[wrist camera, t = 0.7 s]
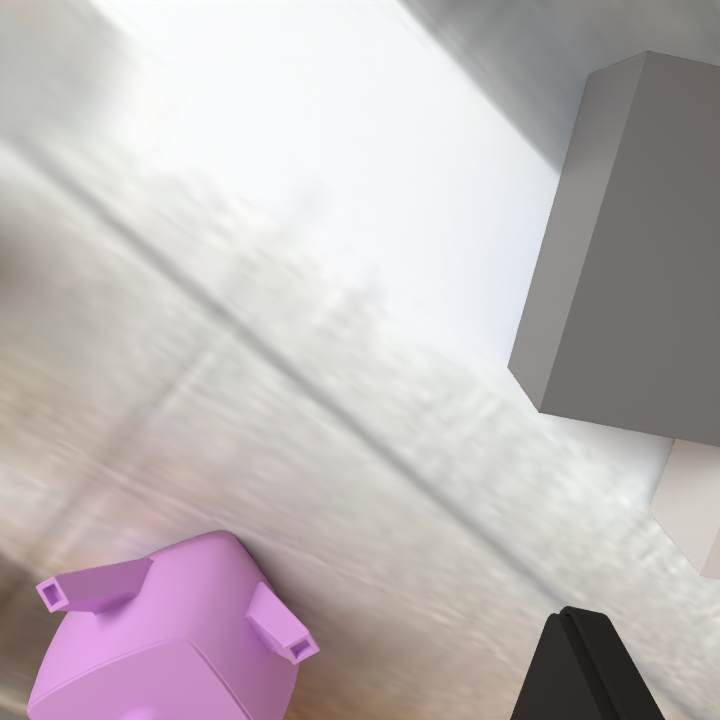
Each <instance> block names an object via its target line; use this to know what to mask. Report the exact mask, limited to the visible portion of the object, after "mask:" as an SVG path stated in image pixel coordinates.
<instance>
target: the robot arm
mask: <svg viewBox="0 0 720 720" xmlns="http://www.w3.org/2000/svg"><path fill="white" fill-rule="evenodd" d="M510 720H665V718H664V717H663V715H662V713H661V711H660V709H659V708H658V706H657V704H656V702H655V700H654V699H653V697H652V695H651V693H650V691H649V690H648V688H647V686H646V684H645V682H644V681H643V679H642V677H641V675H640V673H639V672H638V670H637V668H636V666H635V664H634V663H633V661H632V659H631V657H630V655H629V653H628V652H627V650H626V648H625V646H624V644H623V643H622V641H621V639H620V637H619V635H618V634H617V632H616V630H615V628H614V626H613V625H612V623H611V621H610V619H609V618H608V617H607V616H606V615H605V614H602V613H598V612H594V611H589V610H584V609H580V608H575V607H571V606H566V607H564V608H563V609H562V610H561V612H560V614H555V613H553V614H551V615H550V616H549V617H548V619H547V621H546V623H545V626H544V629H543V632H542V634H541V637H540V640H539V643H538V645H537V648H536V651H535V653H534V656H533V659H532V662H531V664H530V667H529V670H528V673H527V675H526V678H525V681H524V683H523V686H522V689H521V692H520V694H519V697H518V700H517V703H516V705H515V708H514V711H513V713H512V716H511V719H510Z"/></svg>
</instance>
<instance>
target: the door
mask: <svg viewBox="0 0 720 720" xmlns="http://www.w3.org/2000/svg"><path fill="white" fill-rule="evenodd" d="M648 512H649V513H650V515H651V516H652V517H653V518H654V520H655V521H656V522H657V523H658V525H659V526H660V527H661V528H662V530H663V531H664V532H665V533H666V534H667V536H668V537H669V538H670V539H671V541H672V542H673V543H674V544H675V546H676V547H677V548H678V549H679V551H680V552H681V553H682V554H683V556H684V557H685V558H686V559H687V561H688V562H689V563H690V564H691V565H692V567H693V568H694V569H695V570H696V572H697V573H698V574H699V575H700V576H705V577H710V578H716V579H719V578H720V447H717V446H712V445H707V444H701V443H696V442H691V441H686V440H680V439H675V441H674V444H673V447H672V449H671V452H670V455H669V457H668V460H667V463H666V466H665V468H664V471H663V474H662V476H661V479H660V482H659V484H658V487H657V490H656V492H655V495H654V498H653V500H652V503H651V506H650V508H649V511H648Z"/></svg>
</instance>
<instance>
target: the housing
mask: <svg viewBox="0 0 720 720" xmlns="http://www.w3.org/2000/svg"><path fill="white" fill-rule="evenodd" d="M508 368H509V370H510V371H511V373H512V374H513V376H514V377H515V379H516V380H517V382H518V383H519V384H520V386H521V387H522V389H523V390H524V392H525V393H526V395H527V396H528V398H529V399H530V400H531V402H532V403H533V405H534V406H535V408H536V409H537V411H538V412H539V413H544V414H549V415H554V416H560V417H565V418H570V419H575V420H581V421H586V422H591V423H596V424H602V425H607V426H612V427H617V428H623V429H628V430H633V431H638V432H644V433H649V434H654V435H659V436H665V437H670V438H675V439H680V440H686V441H691V442H696V443H701V444H707V445H712V446H717V447H720V66H715V65H711V64H706V63H702V62H697V61H692V60H688V59H683V58H679V57H674V56H670V55H665V54H661V53H656V52H651V51H646V52H643V53H641V54H638V55H636V56H633V57H631V58H628V59H626V60H623V61H621V62H618V63H616V64H613V65H611V66H608V67H606V68H603V69H601V70H599V71H596V72H594V73H591V74H589V77H588V80H587V84H586V88H585V91H584V95H583V98H582V102H581V105H580V109H579V113H578V116H577V120H576V123H575V127H574V131H573V134H572V138H571V141H570V145H569V149H568V152H567V156H566V159H565V163H564V166H563V170H562V174H561V177H560V181H559V184H558V188H557V192H556V195H555V199H554V202H553V206H552V210H551V213H550V217H549V220H548V224H547V227H546V231H545V235H544V238H543V242H542V245H541V249H540V253H539V256H538V260H537V263H536V267H535V271H534V274H533V278H532V281H531V285H530V288H529V292H528V296H527V299H526V303H525V306H524V310H523V314H522V317H521V321H520V324H519V328H518V332H517V335H516V339H515V342H514V346H513V349H512V353H511V357H510V360H509V364H508Z"/></svg>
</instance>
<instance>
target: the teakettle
mask: <svg viewBox="0 0 720 720" xmlns="http://www.w3.org/2000/svg"><path fill="white" fill-rule="evenodd" d="M36 589H37V590H38V592H39V594H40V596H41V597H42V599H43V601H44V602H45V604H46V606H47V608H48V609H49V611H50V613H52V612H54V611H69V612H68V613H67V615H66V616H65V618H64V619H63V621H62V623H61V625H60V627H59V628H58V630H57V632H56V634H55V636H54V638H53V640H52V642H51V644H50V646H49V648H48V651H47V653H46V655H45V657H44V660H43V662H42V665H41V667H40V670H39V673H38V676H37V679H36V681H35V684H34V687H33V690H32V693H31V696H30V699H29V703H28V706H27V713H28V716H29V717H30V719H31V720H282V719H283V717H284V715H285V712H286V709H287V707H288V704H289V702H290V699H291V696H292V693H293V690H294V686H295V683H296V679H297V675H298V670H299V666H300V662H301V661H303V660H305V659H306V658H308V657H310V656H312V655H313V654H315V653H317V652H319V651H320V647H319V646H318V644H317V643H316V641H315V639H314V638H313V636H312V635H311V633H310V632H309V630H308V629H307V628H306V627H305V626H304V625H303V624H302V623H301V622H300V621H299V620H298V618H297V617H296V616H295V615H294V614H293V613H292V612H291V611H290V610H289V609H288V608H287V607H286V606H285V605H284V604H283V603H282V602H281V600H280V599H279V597H278V595H277V594H276V592H275V591H274V589H273V588H272V586H271V585H270V583H269V582H268V580H267V579H266V577H265V576H264V574H263V573H262V571H261V570H260V569H259V567H258V566H257V564H256V563H255V562H254V560H253V559H252V558H251V556H250V555H249V553H248V552H247V551H246V549H245V548H244V547H243V546H242V544H241V543H240V542H239V541H238V539H237V538H236V537H235V536H234V535H233V534H232V533H231V532H228V531H223V530H219V531H214V532H209V533H206V534H202V535H199V536H196V537H193V538H190V539H188V540H185V541H182V542H179V543H177V544H174V545H171V546H169V547H166V548H164V549H161V550H159V551H157V552H154V553H152V554H150V555H148V556H146V557H144V558H142V559H139V560H133V561H128V562H123V563H117V564H112V565H107V566H101V567H96V568H91V569H85V570H80V571H75V572H69V573H64V574H59V575H56V576H54V577H52V578H50V579H48V580H46V581H45V582H43V583H41V584H39V585H37V586H36Z"/></svg>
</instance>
